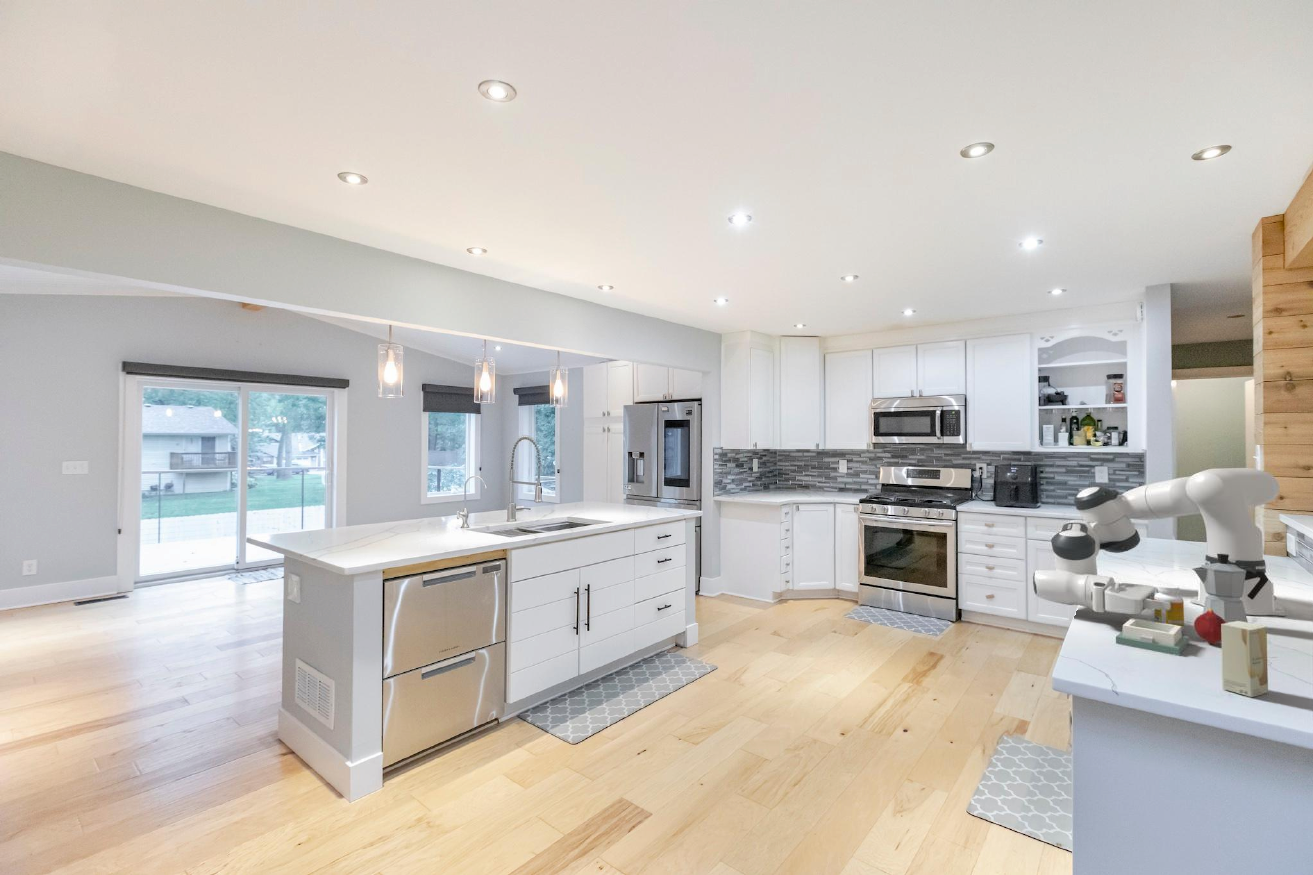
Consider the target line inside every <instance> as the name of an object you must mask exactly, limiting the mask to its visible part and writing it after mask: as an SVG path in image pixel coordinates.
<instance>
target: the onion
mask: <svg viewBox="0 0 1313 875" xmlns="http://www.w3.org/2000/svg"><path fill="white" fill-rule="evenodd" d="M1225 623H1226V622H1225V621H1224V620H1223V619H1222V618H1221V617H1220V616H1218V615H1217V614H1215V613H1214V612H1213V610H1212V609H1210V608H1209V609H1208V611H1207V612H1206V613H1204V614H1203V613H1202V614H1200V615H1199V616H1197V617H1196V618H1195V620H1194V623H1193V628H1194V631H1195V632H1196V634H1197V635H1198V636H1199V637H1200V638H1201V639H1203V640H1204V641H1205V642H1207V643H1208V644H1210V645H1215V644H1217V643H1220V642H1222V633H1221V624H1225Z"/></svg>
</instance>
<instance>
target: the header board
mask: <svg viewBox="0 0 1313 875" xmlns="http://www.w3.org/2000/svg"><path fill="white" fill-rule="evenodd" d="M1189 638H1190V636H1187V635H1182V629H1181V626H1177V625H1171V624H1165V623H1159V622H1155V621H1153V620H1147V619H1146V620H1145V619H1140V618H1134V617H1131V618H1130V619H1129V620H1127V621H1126V622H1125V623H1124V624H1122V631H1121V632H1119V633H1118V634H1117V635H1116V636H1115V644H1119V645H1124V646H1129V647H1134V648H1138V649H1144V650H1149V651H1154V652H1158V653H1164V654H1168V653H1169V654H1170V655H1173V654H1175V656H1180V655H1181V654H1182V653H1183V651H1184V650H1185V649H1186V647H1188V645H1189V643H1190V640H1189ZM1179 654H1180V655H1179Z"/></svg>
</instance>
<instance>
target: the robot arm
mask: <svg viewBox="0 0 1313 875" xmlns="http://www.w3.org/2000/svg"><path fill="white" fill-rule="evenodd" d="M1280 490H1281V489H1280V483H1279V481H1278V480H1277V478H1276V477H1275V476H1274V475H1273V474H1271V473H1270V472H1268V471H1264V470H1261V469H1256V468H1252V467H1234V468H1233V467H1230V468H1229V467H1228V468H1227V467H1224V468H1208V469H1206V470H1201V471H1200V472H1197V473H1194V474H1193V475H1190V476H1183V477H1177V478H1172V479H1167V480H1163V481H1158V482H1153V483H1148V484H1144V485H1140V486H1137V487H1134V488H1132V489H1128V490H1127V491H1124V492H1123V493H1122V494H1120V491H1118V490H1117V489H1110V488H1109V487H1104V486H1092V487H1088V488H1087V487H1086V488H1085V489H1083V490H1081V491H1079V492H1078V493H1077V494H1076V495H1075V497H1073V503H1074V505H1075V509H1076V510H1078V512H1079V514H1080V516H1081V518H1082V519H1071V520H1069V521H1067V522H1065V523H1064V524H1063V525H1062V526H1061V528H1060V529H1059V531H1058V532H1057V533H1056V534H1055V535H1054V536H1052V538H1051V539H1050V541H1051V547H1052V552H1053V561H1054V562H1053V563H1054V569H1036V570H1035V571H1034V572H1033V576H1032V580H1033V581H1032V582H1033V583H1032V585H1033V591H1034V594H1035V595H1036V597H1037V598H1039V599H1042V600H1045V601H1048V602H1053V603H1057V604H1062V605H1066V606H1080V607H1081V606H1082V607H1084V608H1087V609H1092V610H1093V611H1094V612H1096V613H1102V614H1103V613H1105V612H1109V613H1118V614H1129V615H1140V614H1141V613H1143V612H1144V611H1145V610H1146V609H1149V610H1155V609H1163V610H1170V609H1171V602H1168V601H1156V600H1154V596H1155V594H1157V593H1158V587H1155V586H1153V585H1147V584H1138V583H1131V582H1130V583H1128V582H1126V583H1125V582H1122V583H1120V582H1115V580H1114V578H1113V577H1111V576H1105V575H1099V574H1098V568H1097V566H1098V565H1097V557H1098V555H1099V552H1100V551H1102V550H1103V551H1104V552H1108V553H1114V554H1121V553H1125V552H1128V551H1130V550H1133V549H1135V548H1136V547H1137V546H1138V545H1139V544H1140V542H1141V537H1140V534H1139V531H1138V530H1137V529H1136V528H1135V526H1134V524H1133V521H1132V520H1135V521H1136V520H1137V521H1138V520H1139V521H1140V520H1141V521H1149V520H1153V521H1154V520H1163V519H1169V518H1177V517H1178V518H1179V517H1184V516H1191V515H1199V514H1201V516H1202V520H1203V523H1204V526H1205V532H1206V549H1207V550H1206V552H1207V554H1206V555H1205V559H1204V562H1205V563H1204V565H1206V564H1214V563H1219V561H1218V557H1217V554H1227V555H1229V557H1228V562H1227V564H1230V565H1233V566H1237V567H1240V566H1245V567H1248V568H1252V569H1257V570H1260V571H1263V572H1264V573H1265V574H1266V573H1267V571H1266V569H1267V564H1266V561H1265V559H1264V552H1263V551H1264V550H1263V547H1264V546H1263V531H1262V530H1261V528H1260V527H1258V526H1257V525H1256V524H1255V522H1254V520H1253V518H1252V515H1251V513H1250V510H1249V509H1250V508H1256V507H1261V506H1262V505H1265V504H1268V503H1270V502H1272V501H1274V500H1275V499H1276V498H1277V497H1278V495H1279V493H1280ZM1259 580H1260V578H1258V577H1257V578H1254V579H1250V580H1246V581H1245V582H1244V589H1243V596H1242V597H1240V600H1241V601H1243V605H1244V609H1245V613H1246V615H1251V616H1281V617H1283V616H1284V617H1285V616H1287V615H1286V611H1285V610H1284V609H1283V607H1282V606H1280V604H1279V603H1277V601H1276V600H1277V596H1276V595H1275V588H1274V583H1273V582H1272V581H1271V580H1270V579H1269V580H1268V581H1267V582H1266V584H1265V585H1264V586H1263V588H1262V589H1261V590H1260V591H1259V593H1258V594H1257V595H1256V596H1255V598H1254V599H1253V600H1252V599H1250V598H1249V597H1248V596H1247V595H1248V594H1249V593H1250V591H1251V590H1252V589H1253V588H1254V587H1255V585H1256V584H1257V583H1258V582H1259ZM1197 587H1198V591H1197V592H1198V594H1197V596H1194V597H1192V598H1190V600H1189V601H1190V603H1192V604H1197V605H1201V606H1203V607H1204V604H1205V599H1206V597H1207V596H1208V593H1206V591H1205V587H1204V584H1203V582H1202V581H1201V579H1200V578H1199V577H1198V586H1197Z"/></svg>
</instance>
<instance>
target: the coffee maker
mask: <svg viewBox="0 0 1313 875" xmlns="http://www.w3.org/2000/svg"><path fill="white" fill-rule="evenodd" d="M1217 557H1218V561H1219V563H1214V564H1206V565H1205V564H1201V566H1199V567H1193V568H1191V570H1193V571H1194V572H1195V574H1196V575H1197V577H1198V579H1199V578H1200V579H1201V581H1202V582H1203V584H1204V587H1205V591H1206V593H1208V596H1207V597H1206V599H1205V604H1204V606H1203V611H1202V614H1204V613H1206V612H1207V611H1208V609H1209V608H1210V609H1212V610H1213V612H1214V613H1215V614H1217V615H1218V616H1220V617H1221V618H1222V619H1223V620H1224V621H1225V622H1226V623H1228V622H1235V621H1242V622H1247V623H1249V622H1248V617H1247V614H1246V613H1245V609H1244V605H1243V601H1241V600H1240V597H1242V596H1243V589H1244V582H1245V581H1246V580H1250V579H1254V578H1257V577H1258V578H1260V580H1259V582H1258V583H1257V584H1256V585H1255V587H1254V588H1253V589H1252V590H1251V591H1250V593H1249V594H1248V595H1247V596H1248V597H1249V598H1250V599H1252V600H1253V599H1254V598H1255V596H1256V595H1257V594H1258V593H1259V591H1260V590H1261V589H1262V588H1263V586H1264V585H1265V584H1266V582H1267V581H1268V580H1270V579H1269V578H1268V576H1267V574H1266V573H1264V572H1263V571H1260V570H1257V569H1252V568H1248V567H1245V566H1240V567H1237V566H1233V565H1230V564H1227V562H1228V557H1229V555H1227V554H1217Z"/></svg>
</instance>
